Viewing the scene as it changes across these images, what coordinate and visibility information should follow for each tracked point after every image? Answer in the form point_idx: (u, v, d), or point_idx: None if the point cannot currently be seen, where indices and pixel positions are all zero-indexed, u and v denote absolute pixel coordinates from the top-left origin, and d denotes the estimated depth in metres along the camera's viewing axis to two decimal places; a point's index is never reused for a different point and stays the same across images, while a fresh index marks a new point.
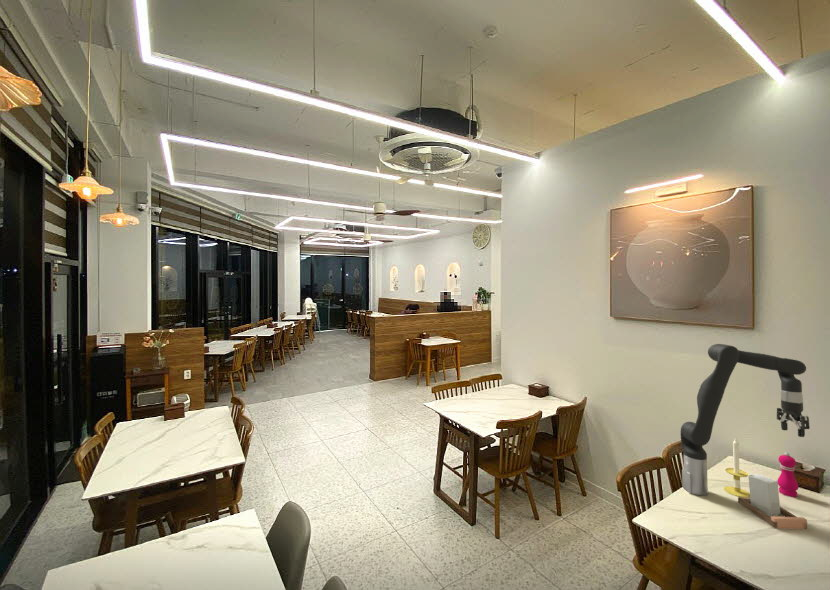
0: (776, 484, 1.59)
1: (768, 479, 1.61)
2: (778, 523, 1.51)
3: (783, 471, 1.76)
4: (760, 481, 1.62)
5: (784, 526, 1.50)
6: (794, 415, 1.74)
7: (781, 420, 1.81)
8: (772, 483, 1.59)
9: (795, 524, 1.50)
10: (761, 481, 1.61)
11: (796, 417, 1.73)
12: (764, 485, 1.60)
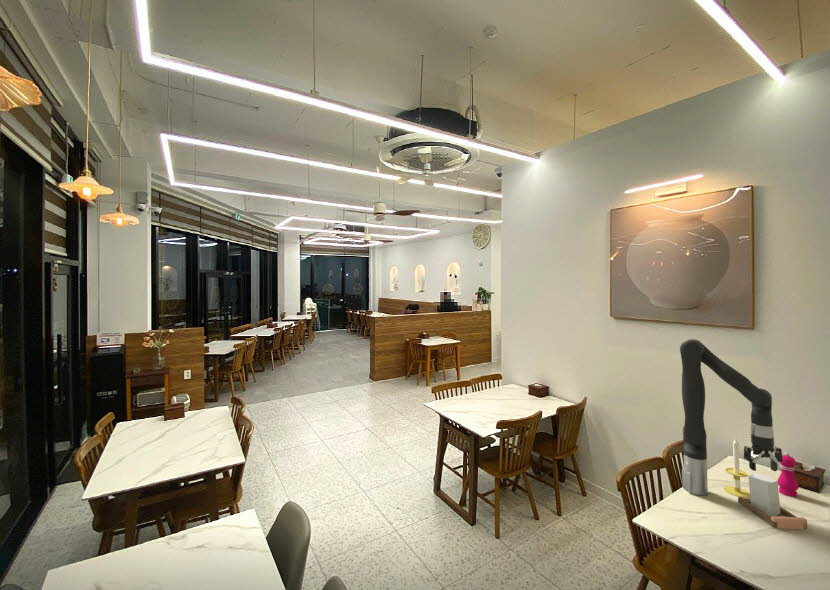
0: (776, 484, 1.59)
1: (768, 479, 1.61)
2: (778, 523, 1.51)
3: (783, 471, 1.76)
4: (760, 481, 1.61)
5: (784, 526, 1.50)
6: (770, 450, 1.62)
7: (754, 460, 1.62)
8: (772, 483, 1.59)
9: (795, 524, 1.50)
10: (761, 481, 1.61)
11: (772, 451, 1.62)
12: (764, 485, 1.60)
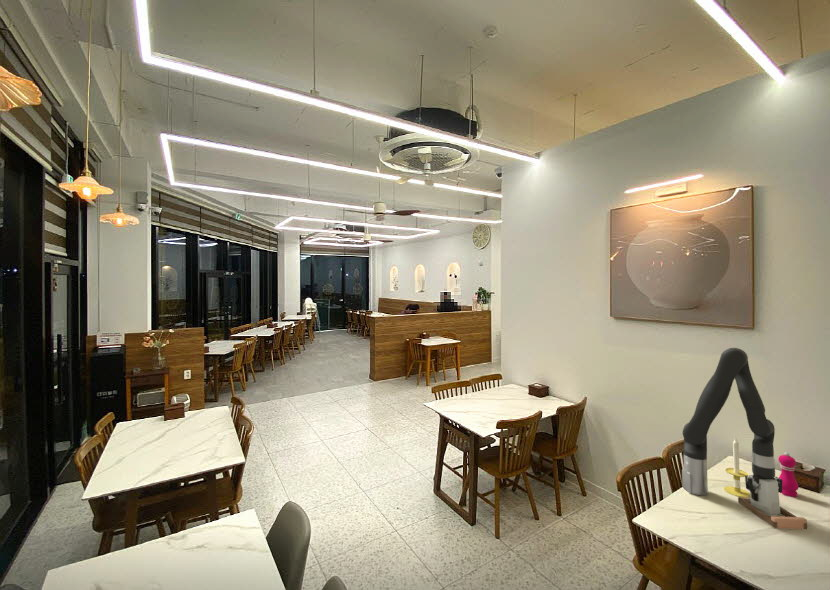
0: (776, 484, 1.59)
1: (768, 479, 1.61)
2: (778, 523, 1.51)
3: (783, 471, 1.76)
4: (760, 481, 1.62)
5: (784, 526, 1.50)
6: None
7: (756, 491, 1.62)
8: (772, 483, 1.59)
9: (795, 524, 1.50)
10: (761, 481, 1.61)
11: None
12: (764, 485, 1.60)
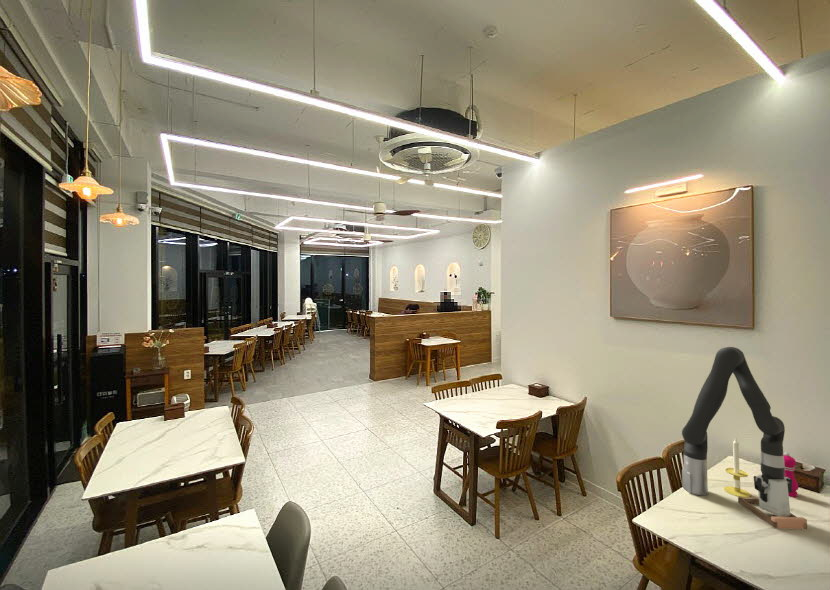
0: (786, 484, 1.55)
1: (777, 479, 1.57)
2: (778, 523, 1.51)
3: None
4: (769, 481, 1.57)
5: (784, 526, 1.50)
6: None
7: (765, 491, 1.57)
8: (782, 483, 1.55)
9: (795, 524, 1.50)
10: (770, 481, 1.57)
11: None
12: (773, 485, 1.56)
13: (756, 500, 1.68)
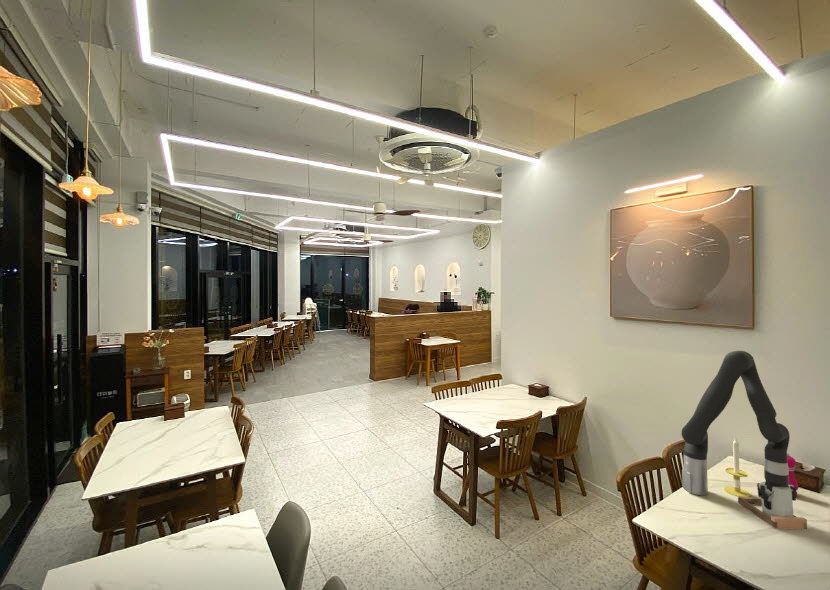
0: (790, 492, 1.53)
1: (781, 487, 1.55)
2: (778, 523, 1.51)
3: None
4: (773, 488, 1.55)
5: (784, 526, 1.50)
6: None
7: (769, 499, 1.55)
8: (786, 490, 1.53)
9: (795, 524, 1.50)
10: (774, 488, 1.55)
11: None
12: (777, 492, 1.54)
13: (756, 500, 1.68)
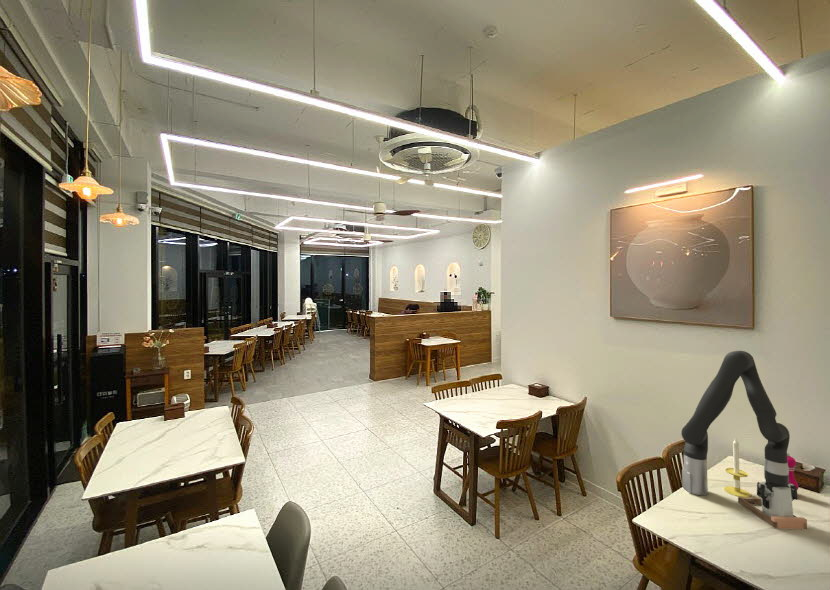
0: (789, 492, 1.53)
1: (780, 487, 1.55)
2: (778, 523, 1.51)
3: None
4: (772, 488, 1.55)
5: (784, 526, 1.50)
6: None
7: (768, 498, 1.55)
8: (785, 490, 1.53)
9: (795, 524, 1.50)
10: (773, 488, 1.55)
11: None
12: (776, 492, 1.54)
13: (756, 500, 1.68)
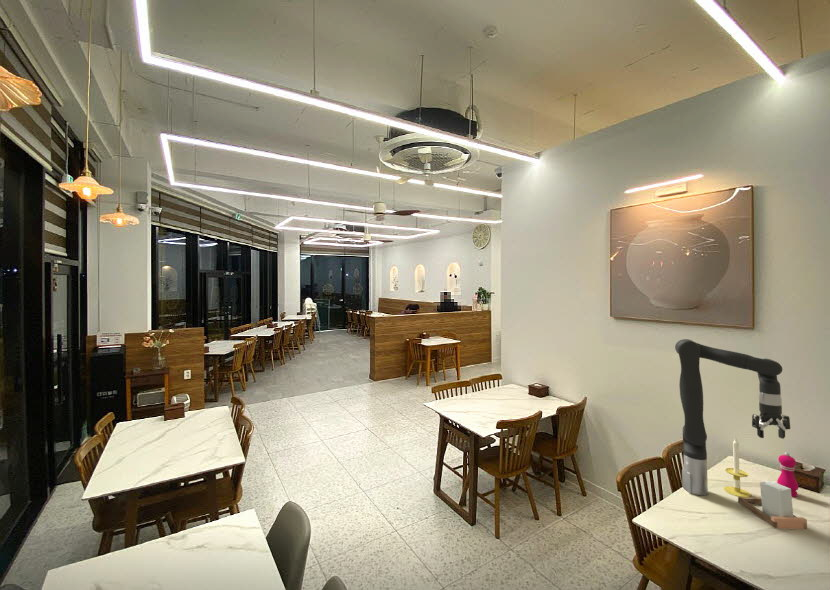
0: (789, 492, 1.53)
1: (781, 487, 1.55)
2: (778, 523, 1.51)
3: (783, 471, 1.76)
4: (772, 488, 1.55)
5: (784, 526, 1.50)
6: (778, 418, 1.66)
7: (762, 428, 1.67)
8: (785, 490, 1.53)
9: (795, 524, 1.50)
10: (773, 488, 1.55)
11: (780, 419, 1.66)
12: (776, 492, 1.54)
13: (756, 500, 1.68)
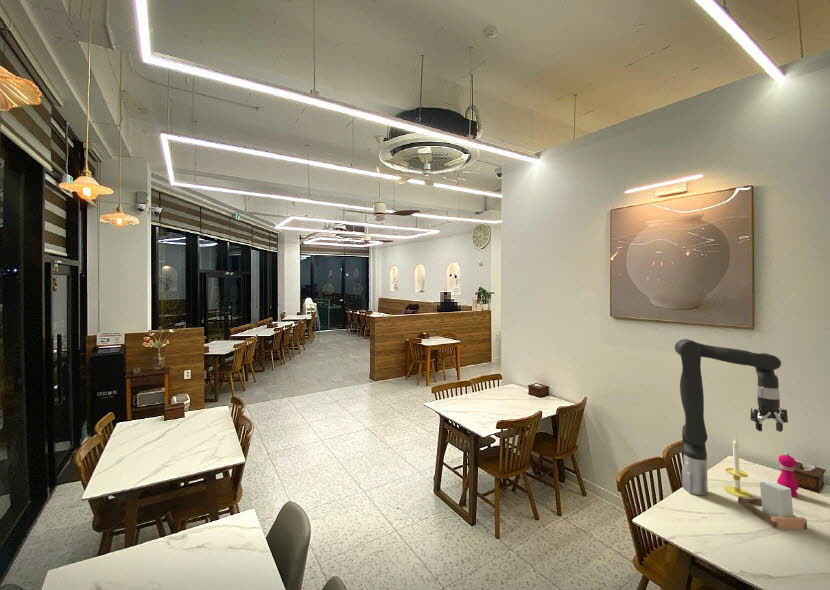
0: (789, 492, 1.53)
1: (780, 487, 1.55)
2: (778, 523, 1.51)
3: (783, 471, 1.76)
4: (772, 488, 1.55)
5: (784, 526, 1.50)
6: (776, 411, 1.69)
7: (761, 421, 1.69)
8: (785, 490, 1.53)
9: (795, 524, 1.50)
10: (773, 488, 1.55)
11: (778, 413, 1.69)
12: (776, 492, 1.54)
13: (756, 500, 1.68)
